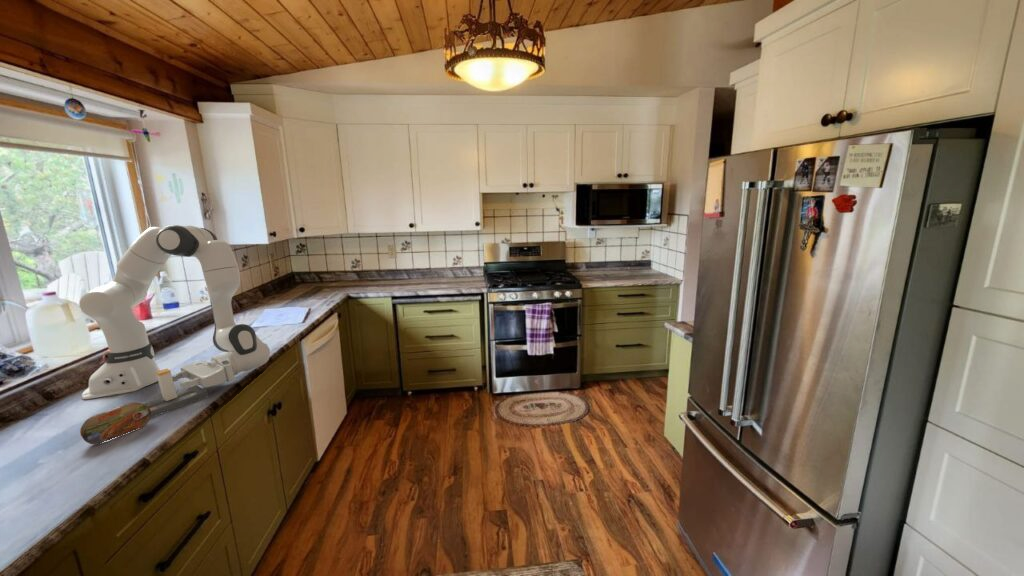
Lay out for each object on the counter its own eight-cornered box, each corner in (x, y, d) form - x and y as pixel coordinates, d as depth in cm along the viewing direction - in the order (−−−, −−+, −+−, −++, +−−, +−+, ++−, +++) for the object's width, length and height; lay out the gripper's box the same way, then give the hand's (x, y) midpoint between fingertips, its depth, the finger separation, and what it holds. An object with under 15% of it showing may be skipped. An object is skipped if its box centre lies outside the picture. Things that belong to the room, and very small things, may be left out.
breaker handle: (166, 401, 134) (158, 373, 132) (163, 399, 136) (155, 371, 133) (177, 397, 136) (170, 370, 134) (174, 395, 138) (166, 368, 136)
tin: (86, 450, 113) (78, 423, 111) (83, 447, 115) (74, 420, 113) (154, 423, 125) (147, 398, 123) (150, 421, 127) (143, 396, 125)
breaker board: (142, 421, 127) (140, 415, 126) (132, 413, 132) (131, 407, 131) (208, 396, 141) (207, 390, 141) (197, 390, 146) (196, 384, 146)
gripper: (207, 354, 153) (161, 368, 142) (232, 364, 142) (185, 380, 131) (211, 369, 154) (166, 384, 143) (236, 381, 143) (189, 398, 132)
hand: (175, 382), depth 137 cm, fingers open, 8 cm apart
